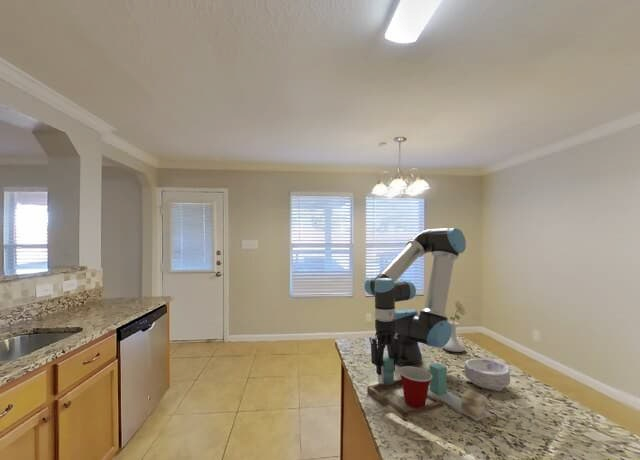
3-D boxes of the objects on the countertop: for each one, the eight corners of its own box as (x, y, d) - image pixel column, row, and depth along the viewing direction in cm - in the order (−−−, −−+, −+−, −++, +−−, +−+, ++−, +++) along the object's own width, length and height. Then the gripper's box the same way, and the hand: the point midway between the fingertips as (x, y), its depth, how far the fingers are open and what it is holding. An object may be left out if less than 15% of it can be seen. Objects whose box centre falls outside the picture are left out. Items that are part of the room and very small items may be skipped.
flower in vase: (454, 355, 146) (453, 304, 147) (436, 347, 156) (435, 299, 158) (473, 351, 151) (472, 301, 152) (455, 344, 162) (454, 298, 163)
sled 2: (426, 394, 108) (426, 365, 108) (440, 390, 111) (440, 362, 111) (477, 424, 90) (476, 390, 90) (492, 418, 93) (491, 385, 93)
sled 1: (365, 390, 111) (364, 360, 112) (399, 381, 118) (399, 353, 119) (405, 421, 92) (405, 384, 92) (443, 408, 99) (443, 374, 99)
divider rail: (422, 395, 108) (422, 390, 108) (423, 394, 108) (423, 390, 108) (477, 429, 88) (477, 423, 88) (479, 428, 89) (479, 423, 89)
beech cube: (461, 410, 95) (461, 394, 95) (468, 405, 98) (468, 389, 99) (478, 417, 91) (477, 401, 92) (484, 411, 95) (484, 395, 95)
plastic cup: (438, 418, 94) (437, 379, 94) (403, 417, 94) (402, 378, 95) (427, 400, 105) (426, 365, 105) (396, 399, 105) (395, 364, 106)
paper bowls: (457, 384, 116) (457, 363, 116) (476, 374, 125) (475, 355, 126) (500, 401, 104) (499, 377, 104) (517, 388, 113) (516, 366, 113)
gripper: (372, 324, 107) (373, 390, 106) (409, 318, 115) (410, 380, 113) (360, 319, 114) (361, 382, 113) (395, 314, 121) (396, 373, 120)
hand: (385, 381), depth 113 cm, fingers closed on sled 1, 4 cm apart
